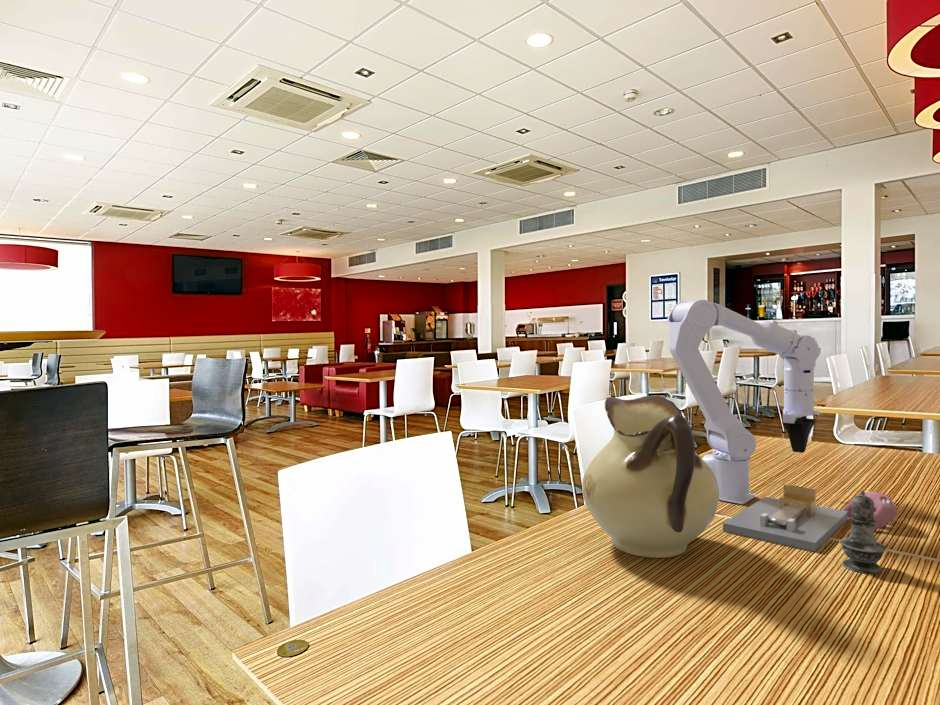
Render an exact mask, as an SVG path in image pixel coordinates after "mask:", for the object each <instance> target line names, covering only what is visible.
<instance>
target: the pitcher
mask: <svg viewBox="0 0 940 705" xmlns="http://www.w3.org/2000/svg"><path fill="white" fill-rule="evenodd" d="M603 403H604V409H605V412H606V415H607V418H608V421H609V423H610V425H611V427H612V428H613V435H612V437H611V439H610V440H609V441H608V443H607V444H606V445H605V446H603V448H601V450H599V452H597V453H596V455H595V456H594V458H593V459H592V460H591V461H590V463H589V464H588V466H587V468H586V470H585V472H584V474H583V476H582V477H583V478H582V483H581V492H582V497H583V501H584V503H585V504H584V505H585V506H586V508H587V511H588V512H589V514H590V515H591V517H592V518H593V520H594V521H595V522H596V524H597V525H599V527H600V528H601V529H602V530H603V532H605V533H606V534H607V535H608V536H609V537H610V540H611V544H612V545H613V546H614V548H616V549H617V550H619V551H620V552H623V553H625V554H627V555H631V556H635V557H641V558H650V559H666V558H667V559H668V558H674V557H676V556H679V555H682V554H684V553H685V552H686V551H687V548H688V545H689V543H692V541H695V539H697V538H699V536H701V534H703V533H704V531H705V530H707V528H708V527H709V526H710V524H711V523H712V522H713V521H714V518H715V516H716V515H717V511H718V507H719V504H720V503H719V502H720V500H719V488H718V484H717V481H716V478H715V476H714V474H713V472H712V471H711V469H710V468H709V466H708V465H707V464H706V462H705V461H704V460H703V459H702V458H703V457H701V456H700V455H699V454H698V452H696V446H695V437H694V434H693V430H692V428H691V424H690V422H689V421H688V419H687V418H686V417H685V416H683V415H682V411H681V409H680V407H678V406H677V405H676V404H675V403H674V401H671V400H669V399H667V398H666V397H664V396H661V395H650V396H649V395H647V396H646V395H644V396H641V397H638V398H634V399H621V398H617V397H616V396H615V397H614V396H608V397H606V399H605V400H604V402H603Z"/></svg>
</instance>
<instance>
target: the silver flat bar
mask: <svg viewBox="0 0 940 705" xmlns="http://www.w3.org/2000/svg"><path fill="white" fill-rule="evenodd" d="M805 511H806V506H801V505H795V504H788V505H786V506H785V507H783V508H782V509H781V510H779V511H778V512H776V513H775V514H773V515H772V516H770V517H768V523H772V524H777V525H782V526H787V520H789V519H790V518H793V519H796V518H798V517H799V516H800V515H802V514H803V513H804V512H805Z"/></svg>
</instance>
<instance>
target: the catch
mask: <svg viewBox="0 0 940 705" xmlns="http://www.w3.org/2000/svg"><path fill="white" fill-rule="evenodd" d="M816 492H817V490H816V488H810V487H805V486H797V485H791V484H786V483H785V484H783V495H781V496H780V497H779V499H780V510H781V509H782V508H783V507H785V506H786V505H788V504H795V505H801V506H806V515H807V516H812V515H813V514H814V513H816V506H817V505H816V504H817V503H816V502H817V500H816V499H817V498H816V497H817V494H816Z"/></svg>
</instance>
